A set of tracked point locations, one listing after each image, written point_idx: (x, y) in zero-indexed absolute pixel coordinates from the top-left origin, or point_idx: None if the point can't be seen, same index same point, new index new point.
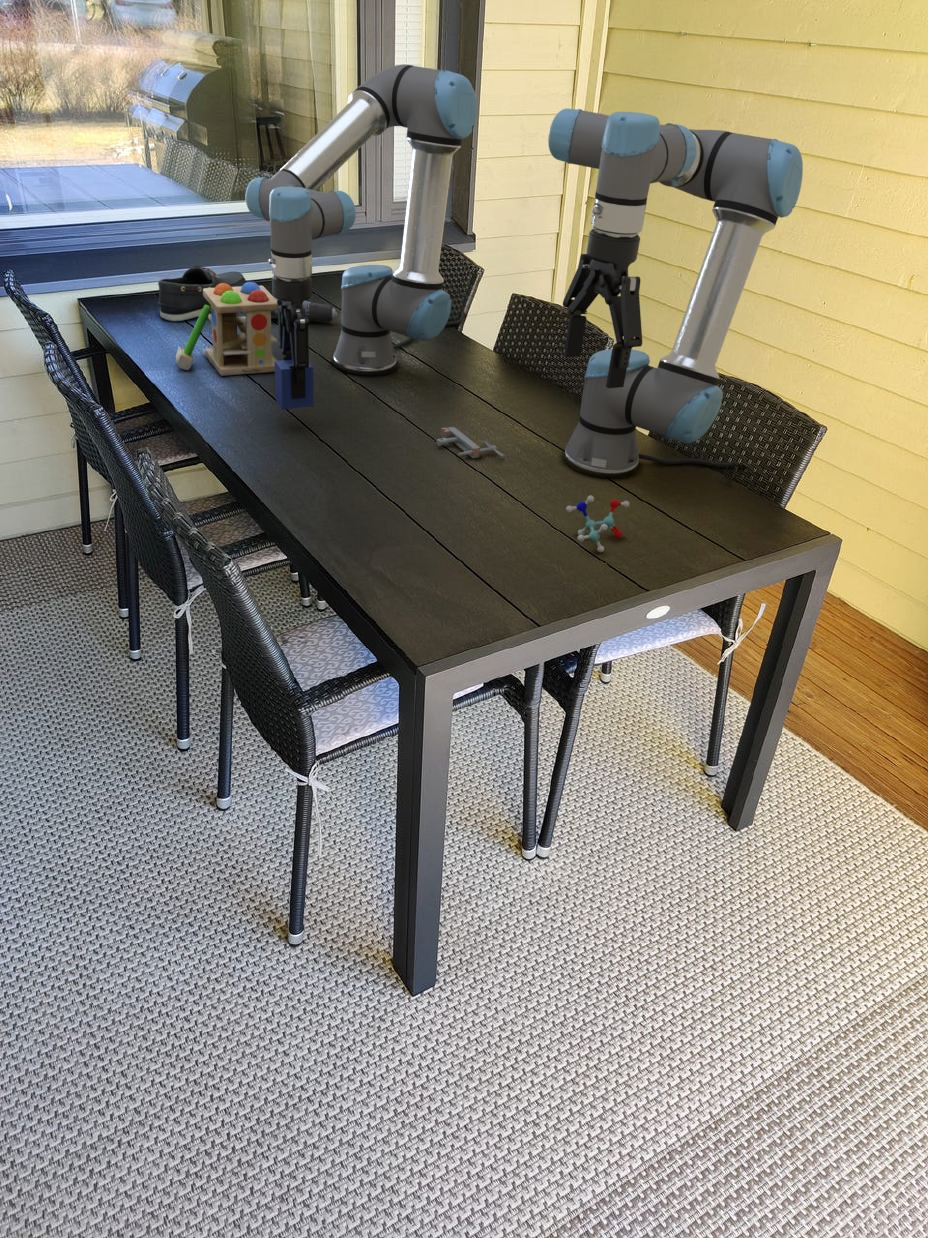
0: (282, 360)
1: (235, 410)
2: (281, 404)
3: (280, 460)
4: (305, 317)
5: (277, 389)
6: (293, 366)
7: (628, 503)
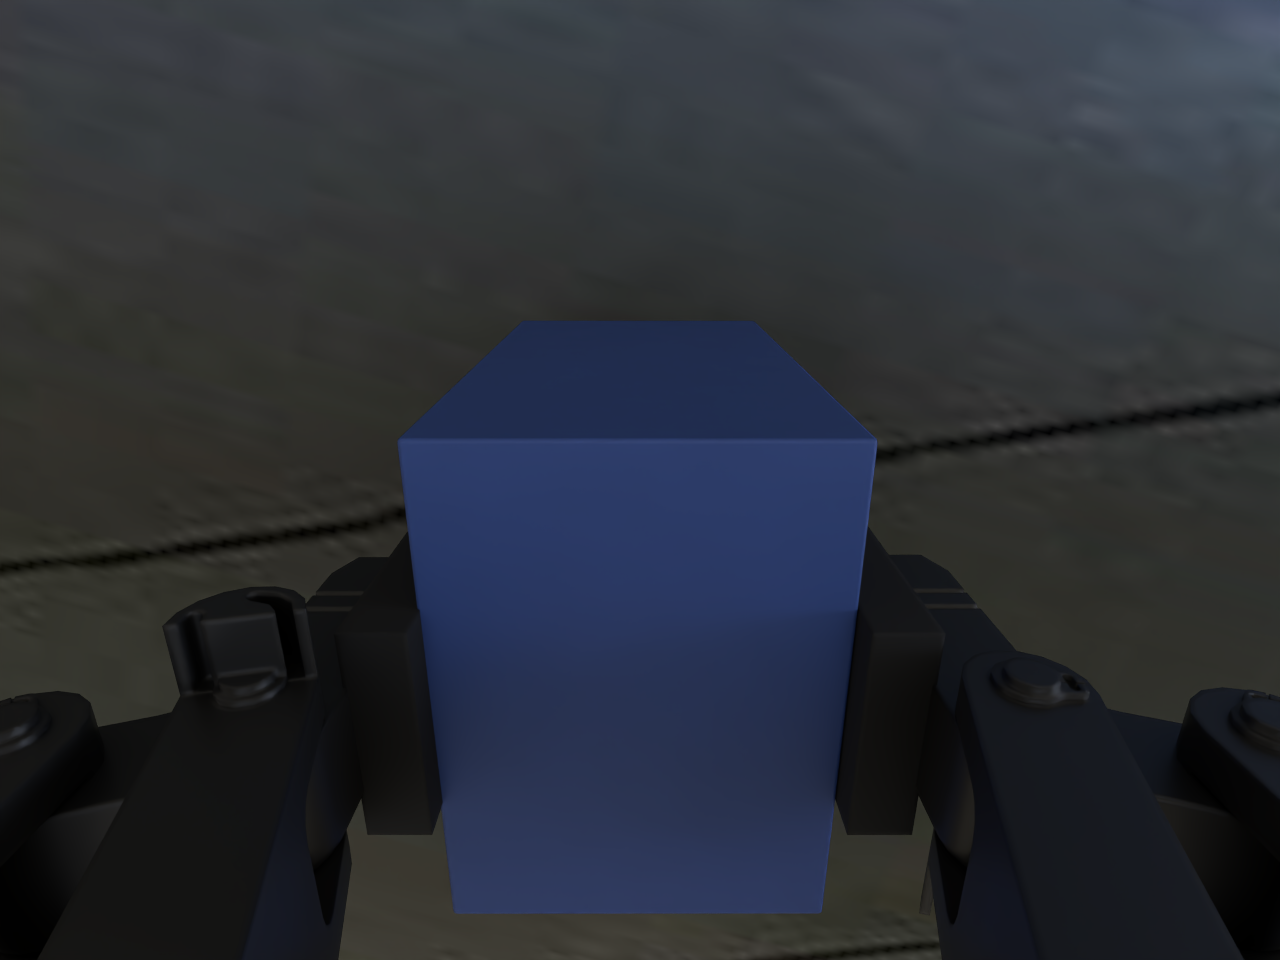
0: (849, 581)
1: (1121, 36)
2: (542, 325)
3: (106, 140)
4: None
5: (688, 345)
6: (189, 671)
7: None
